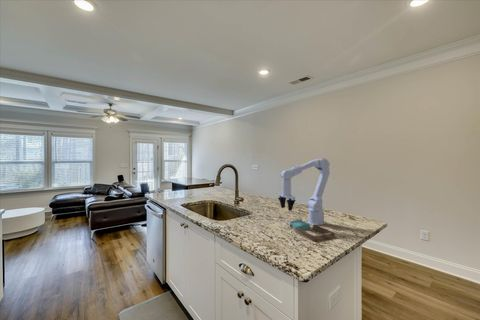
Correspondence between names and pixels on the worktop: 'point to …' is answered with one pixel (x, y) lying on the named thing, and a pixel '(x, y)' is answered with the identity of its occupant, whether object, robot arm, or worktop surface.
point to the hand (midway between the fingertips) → (286, 209)
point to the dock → (326, 235)
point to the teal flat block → (299, 224)
